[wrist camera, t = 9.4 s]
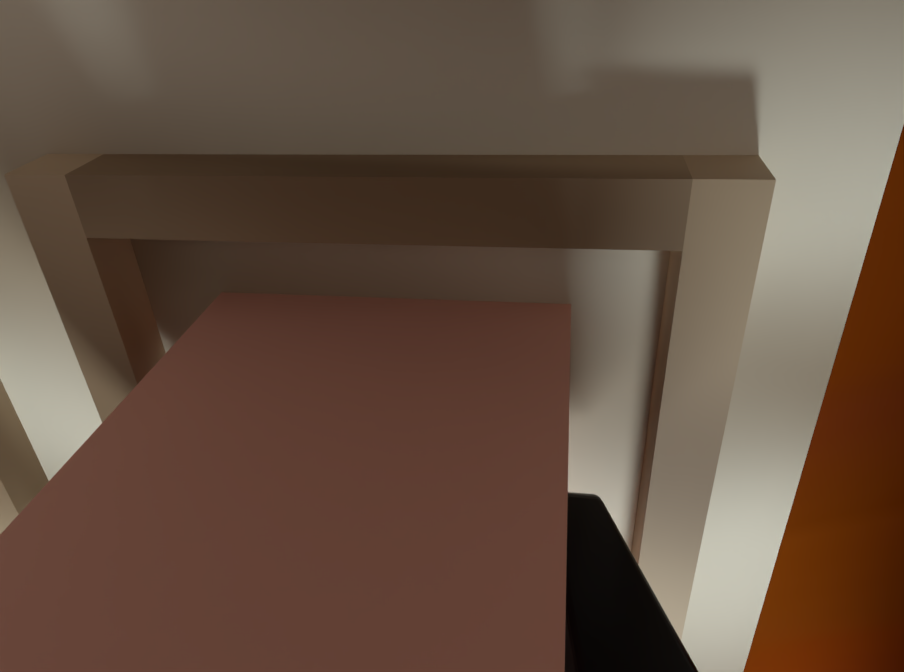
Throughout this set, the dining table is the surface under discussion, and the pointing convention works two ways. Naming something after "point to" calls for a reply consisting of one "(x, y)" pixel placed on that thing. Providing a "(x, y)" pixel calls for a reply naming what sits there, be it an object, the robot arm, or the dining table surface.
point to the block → (312, 499)
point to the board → (468, 222)
